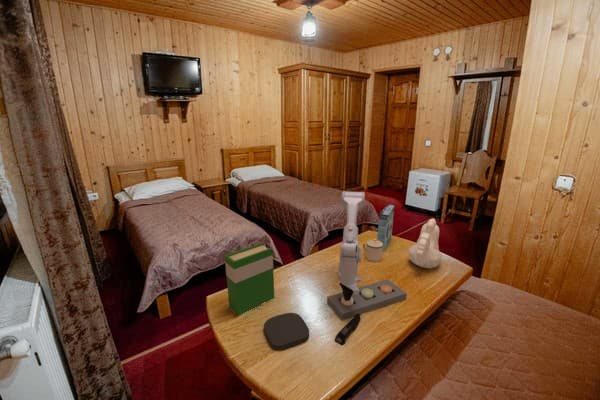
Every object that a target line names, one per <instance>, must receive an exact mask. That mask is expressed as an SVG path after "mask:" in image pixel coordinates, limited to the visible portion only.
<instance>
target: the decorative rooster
mask: <svg viewBox="0 0 600 400" xmlns="http://www.w3.org/2000/svg"><path fill="white" fill-rule="evenodd" d="M439 237H440V227H439V225H437V221H436V219H435V218H431V219H429V220H428V221H427V222H426V223H424V224H423V225H422V227H421V230H420V233H419V237H418V239H417V240H416V244H414V245H412V246H411V247H409V249H408V252H407V253H408V259H409V260H410V261H411V262H412V263H413V264H414V265H415V266H417V267H420V268H423V269H428V270H429V269H433V268H438V266H439V265H440V263H441V259H442V255H441V252H440V250H439Z"/></svg>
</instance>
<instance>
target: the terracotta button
mask: <svg viewBox="0 0 600 400" xmlns="http://www.w3.org/2000/svg"><path fill="white" fill-rule="evenodd" d="M380 290H381V291H382V292H383V293H384V294H388V293H391V292H392V287H391V286H389V285H381V286H380Z"/></svg>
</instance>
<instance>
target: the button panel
mask: <svg viewBox="0 0 600 400" xmlns="http://www.w3.org/2000/svg"><path fill="white" fill-rule="evenodd" d="M381 285H389V286H391V287H392V292H391V293H388V294H384V293H383V292H382V291H381V290H380V286H381ZM365 288H368V289H371V290H372V291H373V292H374V294H373V298H372V299H369V300H365V299H364V298H363V297H362V296H361V291H362V289H365ZM358 289H359V294H357V295H354V294H352V296H351V297H352V298H353V305H349V306H346V307H345V306H344V305H343V304H342V303H341V298H342V297H343V291H341V292H339V293H335V294H331V295H327V297H326V302H327V304H328V306H329V307H330V308H331V309H332V310H333V311H334V312H335V314H336V315H337V316H338V318H339V319H340V320H341V321H345V320H348V319H350V318H351V319H352V318H353V317H354V316H355V315H356V314H360V315H363V314H366V313H369V312H372V311H375V310H378V309H381V308H384V307H387V306H390V305H394V304H396V303H399V302H402V301H405V300H407V294H408V293H407V292H406V291H404V289H402V288H401V287H399V286H397V285H396V284H395V283H394V282H392V281H391V280H390V279H388V278H387V279H384V280H380V281H377V282H373V283H369V284H365V285H362V286H359V287H358Z"/></svg>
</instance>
